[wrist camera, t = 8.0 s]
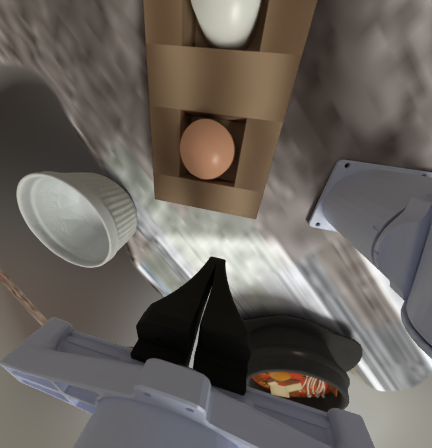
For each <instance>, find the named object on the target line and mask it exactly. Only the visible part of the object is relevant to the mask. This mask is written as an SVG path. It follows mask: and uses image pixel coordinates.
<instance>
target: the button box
mask: <svg viewBox="0 0 432 448" xmlns="http://www.w3.org/2000/svg"><path fill="white" fill-rule="evenodd" d="M317 1H318V0H262V1H261V13H260V21H259V26H258V29H257V32H256V34H255V37H254V39H253V41H252V42H251V44H250V45H249V47H248V48H247V49H246V50H245V51H241V50H227V49H214V48H210V47H209V46H208V44H207V42H206V39H205V37H204V34H203V32H202V29H201V27H200V24H199V22H198V19H197V17H196V14H195V12H194V9H193V6H192V3H191V0H143V3H144V20H145V38H146V55H147V72H148V89H149V106H150V123H151V140H152V157H153V175H154V192H155V199H157V200H162V201H167V202H172V203H177V204H182V205H187V206H192V207H197V208H202V209H207V210H212V211H217V212H222V213H227V214H232V215H237V216H242V217H247V218H252V219H256V217H257V214H258V210H259V207H260V203H261V200H262V196H263V193H264V189H265V185H266V182H267V178H268V175H269V171H270V168H271V164H272V161H273V157H274V153H275V150H276V146H277V143H278V139H279V136H280V132H281V129H282V125H283V121H284V118H285V114H286V111H287V107H288V104H289V100H290V97H291V93H292V90H293V86H294V82H295V79H296V75H297V72H298V68H299V65H300V61H301V58H302V54H303V50H304V47H305V43H306V40H307V36H308V33H309V29H310V26H311V22H312V18H313V15H314V11H315V8H316V4H317ZM200 119H211V120H214V121H216V122H218V123H220V124H221V125H222V126H223V127H225V128H226V129H227V130H228V131H229V132H230V133H231V135H232V136H233V138H234V141H235V144H236V155H235V158H234V161H233V163H232V164H231V166H230V167H229V168H228V169H227V170H226V171H225V172H224V173H223V174H221V175H220V176H218V177H216V178H213V179H201V178H198V177H196V176H194V175H193V174H191V173H190V172H189V171H188V170H187V168H186V167H185V165H184V163H183V161H182V159H181V154H180V142H181V138H182V135H183V133H184V131H185V130H186V128H187V127H188V126H189V125H190V124H192V123H193V122H195V121H197V120H200Z"/></svg>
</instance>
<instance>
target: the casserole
mask: <svg viewBox="0 0 432 448" xmlns="http://www.w3.org/2000/svg"><path fill="white" fill-rule="evenodd" d="M242 320H243V322H244V324H245V326H246V328H247V329H248V331H249V335H250V340H251V346H252V356H251V358H250V360H249V362H248V372H247V374H246V386H247V387H250V388H254V389H257V390H260V391H263V392H266V393H269V394H272V395H275V396H278V397H281V398H284V399H287V400H290V401H293V402H297V403H300V404H303V405H306V406H309V407H312V408H315V409H318V410H321V411H324V412H328V411H329V410H330V409H332V408H338V409H342V410H344V409H345V408H346V407H347V406H348V404H349V395H348V387H349V385H350V380H349V377H348V375H347V373H346V372H347V371H349V370H351V369H352V368H354V367H355V366H356V365H357V364H358V363H359V361H360V359H361V357H362V348H361V345H360V344H359V343H358V342H357V341H355V340H354V339H351V338H348V337H345V336H342V335H340V334H337V333H334V332H332V331H330V330H328V329H326V328H324V327H322V326H320V325H318V324H316V323H314V322H311V321H308V320H305V319H301V318H296V317H291V316H266V317H260V318H255V319H242Z"/></svg>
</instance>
